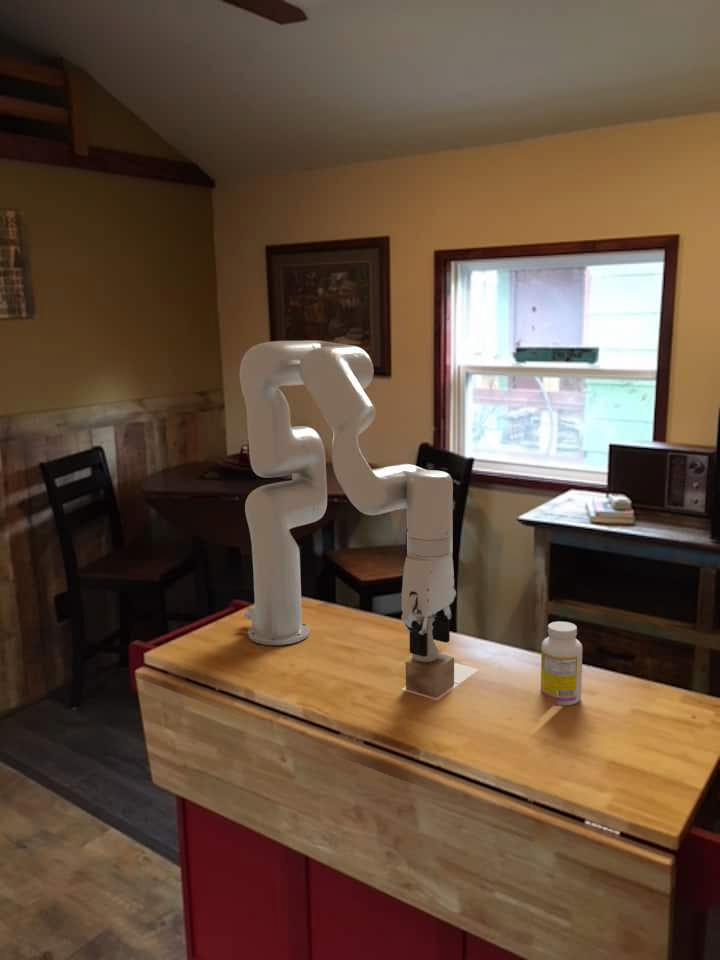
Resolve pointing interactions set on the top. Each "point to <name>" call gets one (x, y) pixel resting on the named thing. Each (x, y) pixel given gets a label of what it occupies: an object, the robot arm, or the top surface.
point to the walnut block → (430, 675)
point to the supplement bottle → (561, 664)
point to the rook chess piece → (432, 648)
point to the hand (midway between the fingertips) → (429, 646)
